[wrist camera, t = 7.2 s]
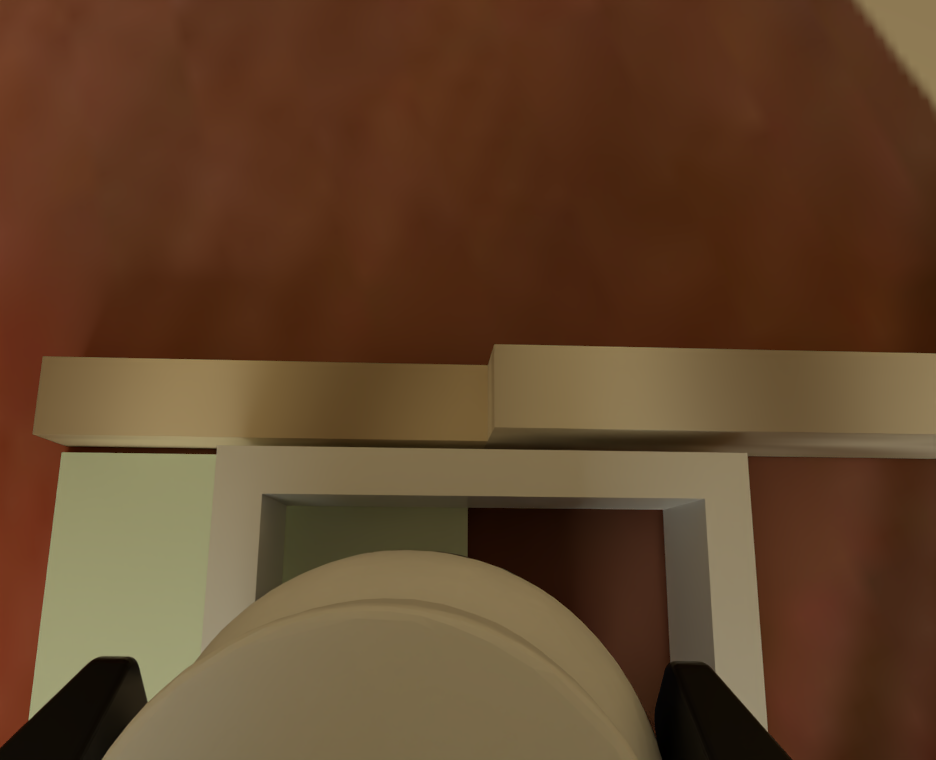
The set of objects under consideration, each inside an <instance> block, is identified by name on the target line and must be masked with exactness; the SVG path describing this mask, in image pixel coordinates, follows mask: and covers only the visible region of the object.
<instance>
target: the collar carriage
mask: <svg viewBox="0 0 936 760" xmlns="http://www.w3.org/2000/svg"><path fill="white" fill-rule="evenodd" d="M287 506H358V507H451V508H544V509H637V510H663V523H664V543H665V564H666V584H667V605H668V625H669V645H670V662H672V661H701V662H704V663H706V664H708V665H709V666H710V667H711V668H712V669H713V670H714V671H715V672H716V674H717V675H718V676H719V677H720V678H721V679H722V680H723V682H724V683H725V684H726V685H727V686H728V687H729V688H730V689H731V691H732V692H733V693H734V694H735V695H736V696H737V697H738V699H739V700H740V701H741V702H742V703H743V704H744V705H745V707H746V708H747V709H748V710H749V711H750V712H751V713H752V715H753V716H754V717H755V718H756V719H757V720H758V721H759V723H760V724H761V725H762V726H763V727H764V728H765V729H766V730H767V732H768V726H767V712H766V699H765V685H764V672H763V658H762V645H761V631H760V618H759V604H758V591H757V577H756V564H755V551H754V537H753V524H752V510H751V497H750V483H749V470H748V456H747V453H718V452H648V451H579V450H510V449H441V448H372V447H303V446H234V445H217V453H216V466H215V478H214V491H213V503H212V516H211V529H210V541H209V554H208V567H207V579H206V592H205V605H204V617H203V630H202V643H201V653H202V652H203V651H204V649H205V648H206V647H207V646H208V645H209V644H210V642H211V641H212V640H213V639H214V638H215V637H216V636H217V635H218V633H219V632H220V631H221V630H222V629H223V628H224V627H226V626H227V625H228V624H229V623H230V622H231V621H232V620H233V619H234V618H235V617H237V616H238V615H239V614H240V613H241V612H242V611H244V610H245V609H246V608H247V607H248V606H249V605H251V604H252V603H254V602H255V601H257V600H258V599H259V598H261V597H262V596H264V595H265V594H267V593H268V592H270V591H271V590H273V589H274V588H276V587H278V586H280V585H281V584H282V576H283V558H284V541H285V524H286V507H287Z"/></svg>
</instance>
